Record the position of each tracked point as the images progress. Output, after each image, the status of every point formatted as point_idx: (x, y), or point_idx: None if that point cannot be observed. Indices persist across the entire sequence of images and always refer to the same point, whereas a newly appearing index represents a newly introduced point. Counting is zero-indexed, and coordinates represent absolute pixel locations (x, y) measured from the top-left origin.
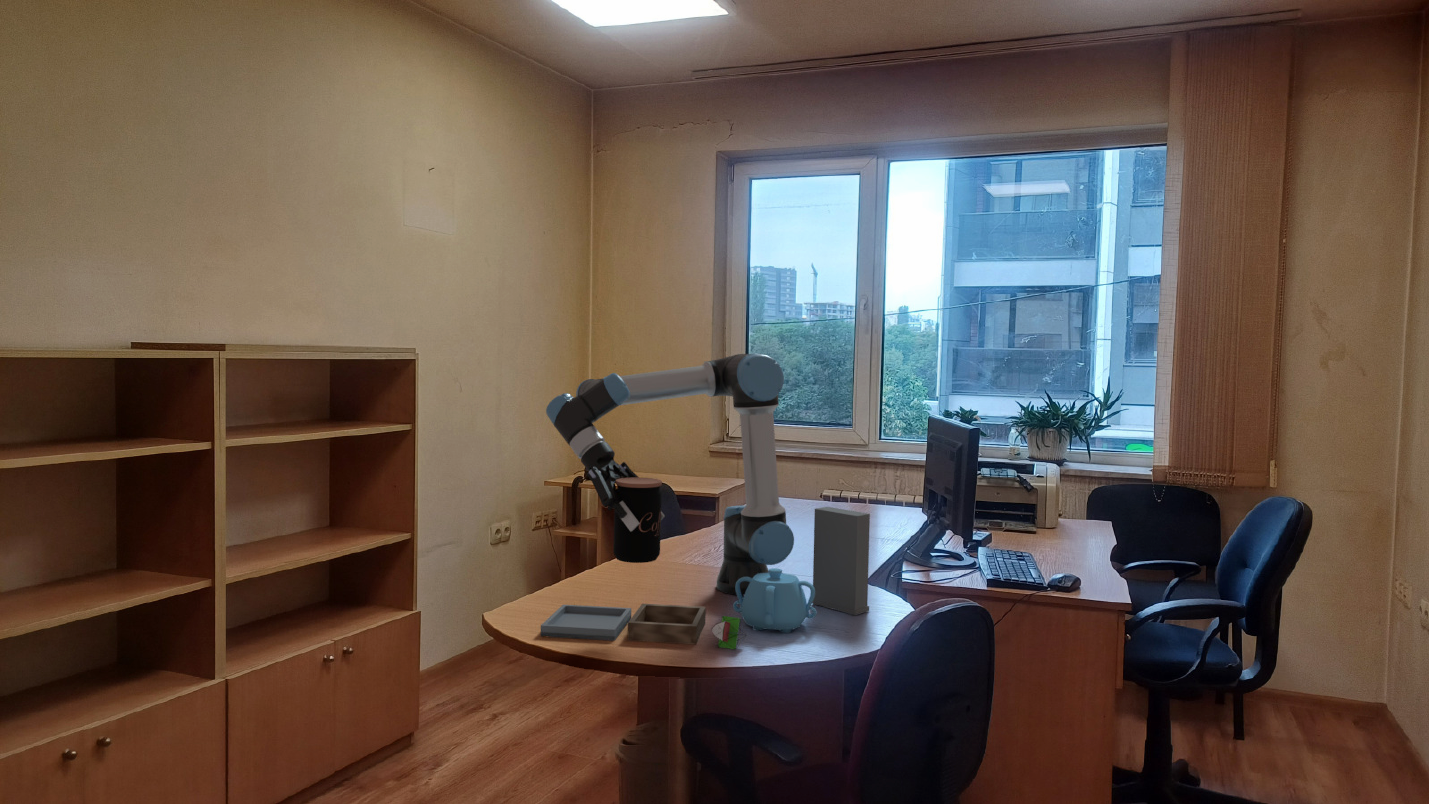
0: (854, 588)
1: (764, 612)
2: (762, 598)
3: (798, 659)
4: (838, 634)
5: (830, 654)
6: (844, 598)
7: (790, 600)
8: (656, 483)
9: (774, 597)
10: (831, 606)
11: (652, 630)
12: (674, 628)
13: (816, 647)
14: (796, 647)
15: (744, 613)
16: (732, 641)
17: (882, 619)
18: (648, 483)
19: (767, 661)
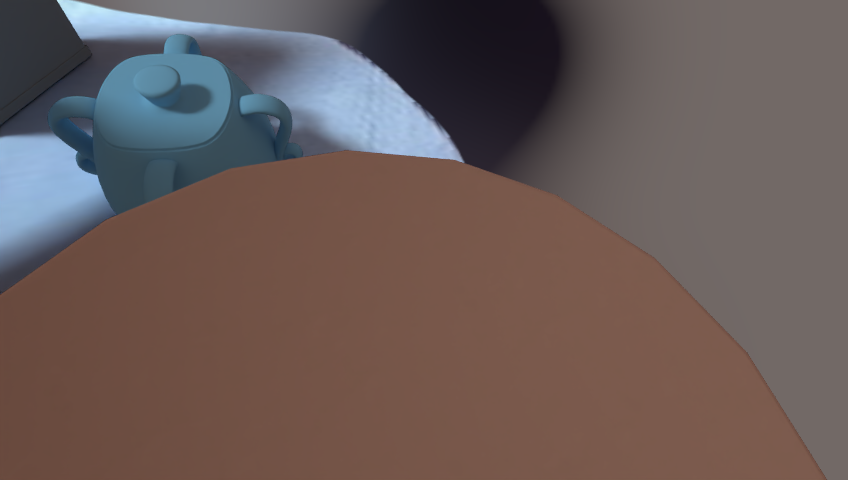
0: (54, 2)
1: (274, 157)
2: (257, 142)
3: (407, 114)
4: (237, 73)
5: (360, 76)
6: (48, 46)
7: (249, 89)
8: (476, 171)
9: (256, 114)
10: (35, 91)
11: None
12: None
13: (330, 97)
14: (343, 124)
15: None
16: None
17: (110, 17)
18: (612, 234)
19: (440, 154)
